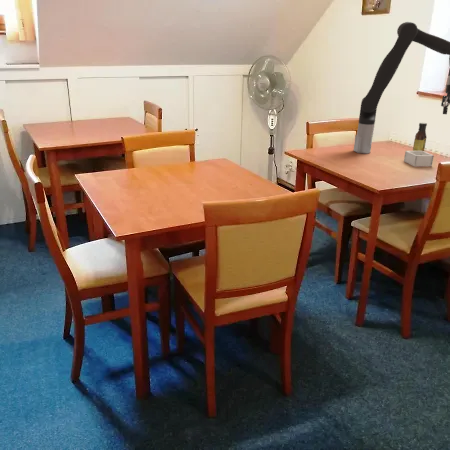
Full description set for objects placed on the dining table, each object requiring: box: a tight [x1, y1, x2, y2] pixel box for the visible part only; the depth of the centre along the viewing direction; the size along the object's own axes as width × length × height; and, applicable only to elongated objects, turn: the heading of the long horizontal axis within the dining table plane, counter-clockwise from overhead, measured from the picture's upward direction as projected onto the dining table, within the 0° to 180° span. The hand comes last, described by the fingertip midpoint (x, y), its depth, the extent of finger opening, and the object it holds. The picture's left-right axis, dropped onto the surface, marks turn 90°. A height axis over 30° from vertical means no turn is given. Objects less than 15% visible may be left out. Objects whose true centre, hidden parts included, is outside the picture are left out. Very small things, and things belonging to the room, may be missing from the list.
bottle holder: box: [403, 150, 435, 167], centre depth 256 cm, size 10×11×6 cm
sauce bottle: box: [412, 122, 428, 151], centre depth 267 cm, size 7×6×20 cm
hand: (449, 114), depth 260 cm, fingers open, 8 cm apart
